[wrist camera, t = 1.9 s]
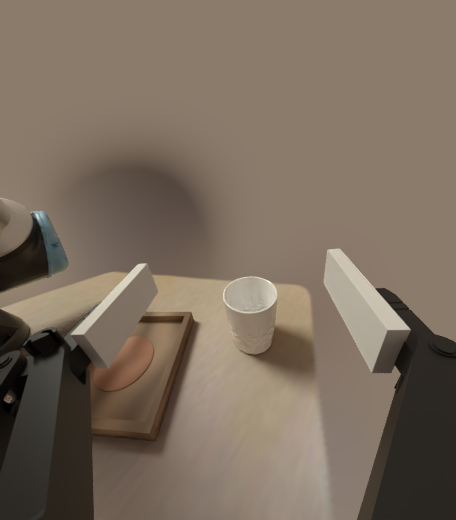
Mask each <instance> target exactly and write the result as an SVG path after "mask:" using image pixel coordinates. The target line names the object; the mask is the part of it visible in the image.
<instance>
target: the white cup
mask: <svg viewBox="0 0 456 520" xmlns="http://www.w3.org/2000/svg"><path fill="white" fill-rule="evenodd" d="M277 297H278V293H277V289H276V288H275V286H274V285H273V284H272V283H271V282H269V281H267V280H265V279H263V278H259V277H243V278H239V279H236V280H234V281H232V282H231V283H230V284H228V285H227V286H226V288H225V289H224V292H223V300H224V304H225V308H226V313H227V317H228V322H229V325H230V329H231V332H232V335H233V340H234V342H235V344H236V346H237V347H238V349H240V350H241V351H243V352H245V353H247V354H255V355H256V354H259V353H262V352H265V351H266V350H267V349H268V348H269V347H270V346H271V343H272V340H273V333H274V328H275V320H276V308H277Z"/></svg>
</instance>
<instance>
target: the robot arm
mask: <svg viewBox="0 0 456 520" xmlns="http://www.w3.org/2000/svg"><path fill="white" fill-rule="evenodd" d="M68 264H69V263H68V259H67V256H66V253H65V251H64V248H63V246H62V244H61V242H60V239H59V237H58V235H57V233H56V231H55V229H54V227H53V225H52V223H51V221H50V219H49V217H48V215H47V214H46V213H45V212H43V211H32V212H31V213H29V212H28V211H27V209H25V208H24V207H23V206H22V205H20V204H19V203H17V202H14V201H12V200H9V199H5V198H0V293H3V292H6V291H9V290H12V289H14V288H17V287H20V286H23V285H26V284H29V283H32V282H35V281H38V280H41V279H44V278H49V277H51V276H52V275H54V274H56V273H59V272H61V271H64V270H65V269H66V268H67V267H68ZM324 285H325V287H326V288H327V290H328V292H329V294H330V296H331V298H332V299H333V301H334V303H335V305H336V307H337V309H338V311H339V313H340V315H341V316H342V318H343V320H344V322H345V324H346V326H347V328H348V329H349V331H350V333H351V335H352V337H353V339H354V341H355V343H356V344H357V346H358V348H359V350H360V352H361V354H362V356H363V357H364V359H365V361H366V363H367V365H368V367H369V369H370V371H371V373H391V372H392V370H393V367H394V366H396V367H397V369H398V370H399V372H400V373H401V375H400V377H399V379H398V381H397V383H396V385H395V387H394V388H395V389H396V390H395V394H394V397H393V400H392V404H391V407H390V410H389V414H388V417H387V421H386V424H385V427H384V431H383V434H382V437H381V441H380V445H379V448H378V451H377V454H376V458H375V461H374V464H373V468H372V471H371V475H370V478H369V481H368V485H367V488H366V491H365V495H364V498H363V502H362V505H361V508H360V512H359V515H358V519H357V520H456V343H455V342H454V341H452V340H450V339H448V338H445V337H442V336H439V335H435V334H434V333H433V332H432V331H431V330H430V329H429V328H428V327H427V326H426V325H425V324H424V323H423V322H422V321H421V320H420V319H419V318H418V317H417V316H416V315H415V314H414V313H413V312H412V311H411V310H409V308H408V307H407V306H406V305H405V304H404V303H403V302H402V301H401V300H400V299H399V298H398V297H397V296H396V295H395V294H394V293H392V292H390V291H389V290H387V289H385V288H377V289H375V288H374V287H373V286H372V285H371V284H370V283H369V281H368V280H367V279H366V278H365V277H364V276H363V275H362V274H361V272H360V271H359V270H358V269H357V268H356V267H355V265H354V264H353V263H352V262H351V261H350V260H349V259H348V258H347V256H346V255H345V254H344V253H343V252H342V251H341V250H340V249H330V250H327V258H326V267H325V275H324ZM157 293H158V289H157V287H156V284H155V282H154V279H153V277H152V274H151V272H150V270H149V267H148V265H147V264H138V265H137V266H136V267H135V268H134V269H133V270H132V271H131V272H130V273H129V274H128V275H127V276H126V277H125V278H124V279H123V280H122V281H121V282H120V284H119V285H118V286H117V287H116V288H115V289H114V290H113V291H112V292H111V293H110V294H109V295H108V296H107V297H106V298H105V299H104V300H103V301H102V302H101V303H99V304H98V305H96V306H95V307H93V308H92V309H91V311H90V312H89V313H88V315H86V316H85V317H84V318H83V320H81V321H80V322H79V323H78V324H77V325H76V326H75V327H74V328H73V329H72V330H71V331H70V332H69V333H68V334H67V335H66V336H65V337H64V338H63V337H62V336H61V335H60V333H59V332H58V331H57V330H56V329H55V328H53V327H52V328H46V329H44V330H41V331H39V332H37V333H35V334H34V335H32V336H31V337H30V338H29V339H27V337H28V335H29V331H30V329H29V326H28V325H27V324H26V323H25V322H24V321H23V320H22V319H21V318H19V317H17V316H15V315H13V314H10V313H8V312H6V311H3V310H1V309H0V520H94V506H93V467H92V428H91V390H90V370H89V368H88V366H89V364H90V363H91V362H92V363H93V364H94V365H95V367H96V368H109V367H110V366H111V364H112V363H113V361H114V360H115V358H116V357H117V355H118V353H119V352H120V350H121V349H122V347H123V346H124V344H125V343H126V341H127V339H128V338H129V336H130V335H131V333H132V332H133V330H134V329H135V327H136V325H137V324H138V322H139V321H140V319H141V318H142V316H143V315H144V313H145V311H146V310H147V308H148V307H149V305H150V304H151V302H152V301H153V299H154V297H155V296H156V294H157ZM26 339H27V340H26ZM25 340H26V341H25ZM24 342H25V343H24ZM23 343H24V344H23ZM22 344H23V346H22ZM21 346H22V347H23V348H24V349H25V350H26V351H27V352H28V353H29V354H30V355H28V356H24V355H23V354H22V353H21V352H20V351H17V350H18V349H19V348H20V347H21ZM7 393H8V394H9V395H10V396H11V397H13V399H12V401H11V402H10V403H9V404H8V403H6V402H5V401H4V397H5V396H6V394H7Z"/></svg>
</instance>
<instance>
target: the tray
mask: <svg viewBox="0 0 456 520" xmlns="http://www.w3.org/2000/svg"><path fill="white" fill-rule="evenodd" d="M193 321H194V320H193V316H192V313H191V312H145V313H144V315H143V316H142V318H141V319H140V321H139V322H138V324H137V325H136V327H135V329H134V330H133V332H132V333H131V335H130V336H129V338H128V339H127V341H126V343H125V344H124V346H123V347H122V349H121V350H120V352H119V353H118V355H117V357H116V358H115V360H114V361H113V363H112V364H111V366H110V367H109V368H96V367H95V365H94V364H93V363H92V362H91V363H90V364H89V366H88V368H89V370H90V390H91V428H92V435H101V436H111V437H121V438H131V439H141V440H152V441H156V439H157V435H158V432H159V429H160V426H161V423H162V419H163V416H164V413H165V410H166V407H167V404H168V400H169V397H170V394H171V391H172V388H173V384H174V381H175V378H176V375H177V372H178V369H179V365H180V362H181V359H182V356H183V353H184V349H185V346H186V343H187V340H188V337H189V334H190V330H191V327H192V324H193Z"/></svg>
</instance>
